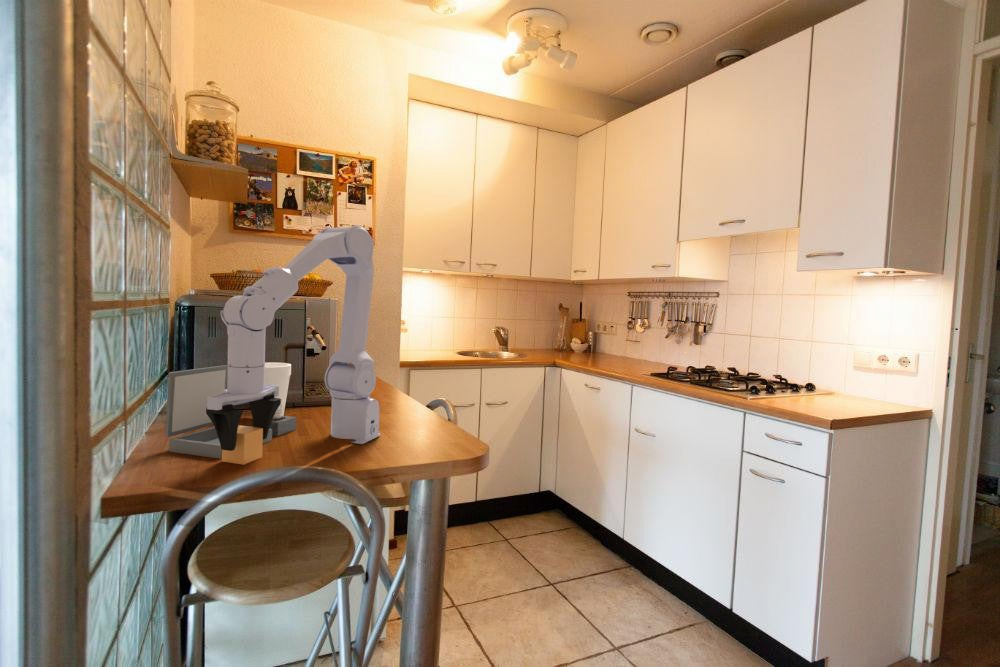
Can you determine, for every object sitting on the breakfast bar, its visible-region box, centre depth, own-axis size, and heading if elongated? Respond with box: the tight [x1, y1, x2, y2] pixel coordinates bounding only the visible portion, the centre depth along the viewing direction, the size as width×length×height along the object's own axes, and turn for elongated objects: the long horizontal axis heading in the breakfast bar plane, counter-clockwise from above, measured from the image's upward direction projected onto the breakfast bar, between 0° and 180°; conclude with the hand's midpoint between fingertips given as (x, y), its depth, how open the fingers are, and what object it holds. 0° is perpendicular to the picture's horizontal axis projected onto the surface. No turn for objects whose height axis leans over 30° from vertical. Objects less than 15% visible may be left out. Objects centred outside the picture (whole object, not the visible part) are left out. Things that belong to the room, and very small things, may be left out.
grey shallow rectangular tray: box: [168, 424, 273, 460], centre depth 94 cm, size 11×13×3 cm
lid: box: [164, 364, 228, 438], centre depth 95 cm, size 12×13×1 cm
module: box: [221, 425, 264, 465], centre depth 87 cm, size 4×4×6 cm
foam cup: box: [264, 362, 292, 416], centre depth 120 cm, size 10×9×13 cm
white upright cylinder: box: [272, 399, 282, 421], centre depth 106 cm, size 2×2×7 cm
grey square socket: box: [269, 415, 297, 437], centre depth 106 cm, size 6×6×4 cm
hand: (244, 443), depth 87 cm, fingers open, 7 cm apart
